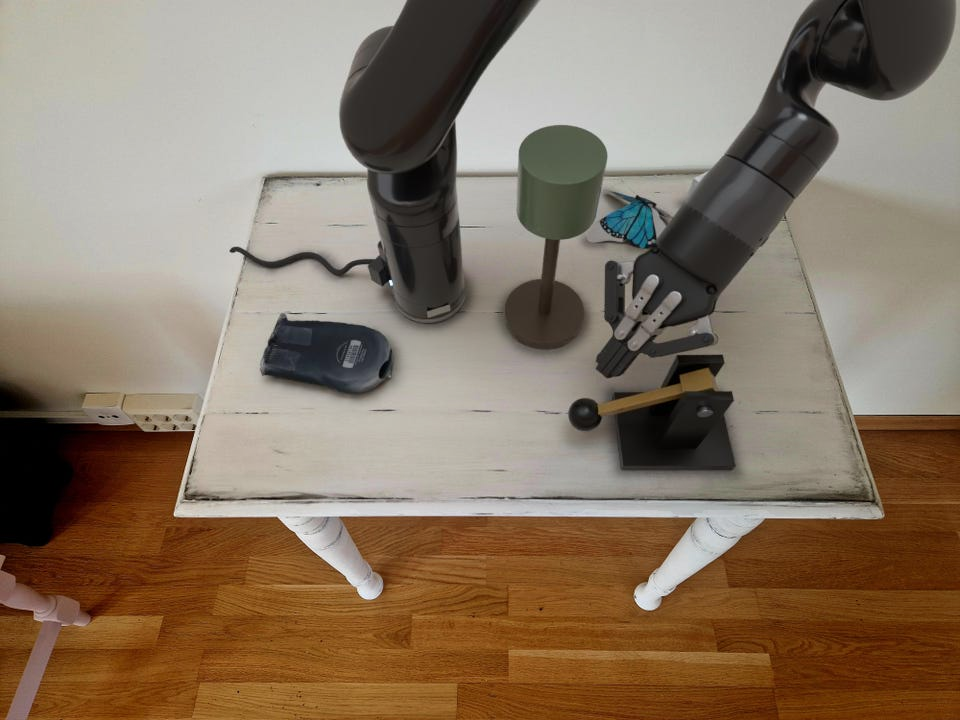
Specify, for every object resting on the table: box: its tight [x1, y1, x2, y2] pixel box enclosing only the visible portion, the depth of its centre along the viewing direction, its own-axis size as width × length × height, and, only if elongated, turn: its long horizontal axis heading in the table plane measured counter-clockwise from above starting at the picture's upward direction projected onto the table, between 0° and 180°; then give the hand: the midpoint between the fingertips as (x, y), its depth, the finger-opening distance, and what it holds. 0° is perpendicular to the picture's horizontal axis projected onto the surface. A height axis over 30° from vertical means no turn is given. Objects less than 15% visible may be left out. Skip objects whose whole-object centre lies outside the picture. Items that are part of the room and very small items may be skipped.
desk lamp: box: [504, 124, 609, 351], centre depth 62 cm, size 10×10×26 cm
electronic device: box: [259, 312, 394, 395], centre depth 69 cm, size 9×6×15 cm
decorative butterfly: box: [585, 180, 674, 249], centre depth 79 cm, size 10×6×10 cm
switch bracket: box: [612, 354, 737, 471], centre depth 59 cm, size 12×9×13 cm
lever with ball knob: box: [567, 368, 719, 433], centre depth 58 cm, size 15×4×4 cm
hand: (603, 373), depth 57 cm, fingers closed
